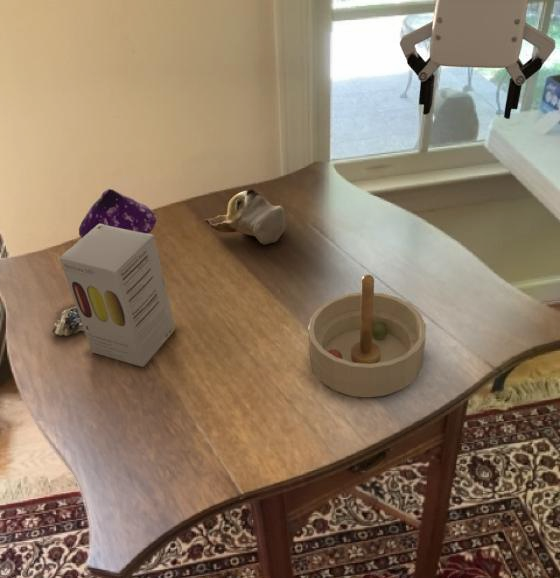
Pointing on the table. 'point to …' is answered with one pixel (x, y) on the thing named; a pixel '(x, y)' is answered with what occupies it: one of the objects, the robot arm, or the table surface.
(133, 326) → the supplement box
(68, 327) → the white grey lumpy piece
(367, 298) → the wooden peg stand
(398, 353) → the bowl
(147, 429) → the table surface
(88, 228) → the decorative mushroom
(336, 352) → the bead
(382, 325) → the bead
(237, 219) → the ceramic sculpture
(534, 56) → the robot arm
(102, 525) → the table surface
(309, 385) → the table surface
